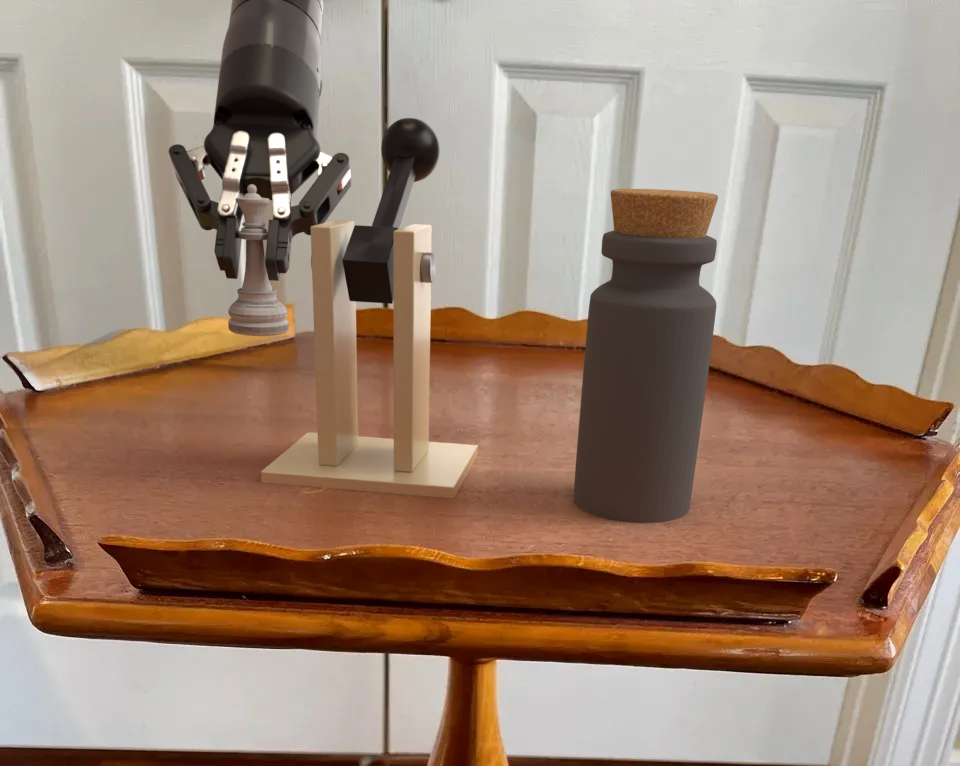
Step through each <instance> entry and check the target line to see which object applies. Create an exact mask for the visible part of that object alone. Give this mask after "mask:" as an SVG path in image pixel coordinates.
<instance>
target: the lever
mask: <svg viewBox="0 0 960 766" xmlns="http://www.w3.org/2000/svg"><path fill="white" fill-rule="evenodd" d="M380 148H381V150H380V151H381V158H382V161H383V164H384V166H385V167H386V169H387V170H388V172H389V174H388V176H387V180H386V182H385V186H384V188H383V192H382V193H381V198H380V201H379V203H378V206H377V210H376V211H375V215H374V218H373V221H372V223H371V225H359V224H358V225H357V224H355V226H354V229H353V231H352V234H351V237H350V240H349V243H348V246H347V248H346V251H345V254H344V257H343V260H342V261H343V267H344V273H345V278H346V284H347V289H348V295H349V300H350V301H355V302H356V303H357V302H358V303H374V304H390V305H393V304H394V231H395V230H398V229H400V228H401V224H402V221H403V218H404V214H405V211H406V208H407V205H408V202H409V198H410V195H411V192H412V188H413V185H414V183H416V182H420V181H423V180H425V179H427V178H428V177H429V176H430V175H431V174H432V173H433V172H434V170H435V169H436V168H437V166H438V163H439V160H440V154H441V147H440V142H439V139H438V137H437V134H436V132H435V131H434V129H433V127H431V125H429V124H428V123H427V122H425V121H424V120H422V119H420V118H417V117H403V118H400V119H398V120H396V121H394V122H393V123H392V124H390V126H388V128H387V129H386V131H385V132H384V134H383V137H382V141H381V146H380Z"/></svg>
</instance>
